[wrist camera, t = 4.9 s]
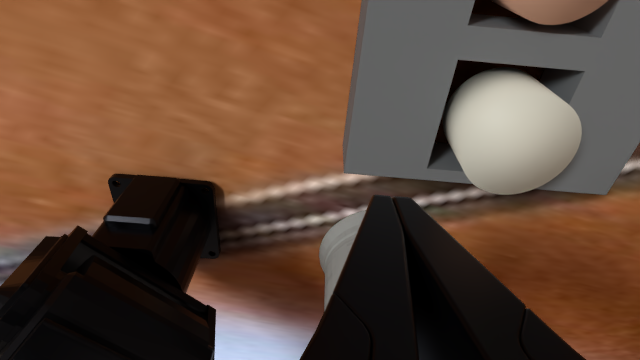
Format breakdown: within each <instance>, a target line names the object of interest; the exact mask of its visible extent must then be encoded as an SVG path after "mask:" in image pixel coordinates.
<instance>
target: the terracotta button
mask: <svg viewBox="0 0 640 360" xmlns="http://www.w3.org/2000/svg"><path fill="white" fill-rule="evenodd" d="M491 1H492V2H494V3H496V4H497V5H499V6H501V7H503V8H505V9H507V10H509V11H511V12H513V13H515V14H517V15H520V16H522V17H524V18H526V19H528V20H530V21H532V22H535V23H538V24H544V25H558V24H564V23H569V22H572V21H575V20H578V19H580V18H582V17H584V16H586V15H588V14H590V13H592V12H593V11H595V10H597V9H598V8H599V7H601V6H602V5H603V4H605V3H606V2H607V1H608V0H491Z"/></svg>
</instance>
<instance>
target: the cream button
mask: <svg viewBox="0 0 640 360" xmlns="http://www.w3.org/2000/svg"><path fill="white" fill-rule="evenodd" d="M443 130H444V134H445V136H446V139H447V140H448V142H449V144H450V146H451V148H452V150H453V152H454V154H455V156H456V158H457V159H458V161H459V163H460V165H461V167H462V169H463V171H464V173H465V174H466V176H467V178H468V179H469V180H470V181H471V182H472V183H473V184H474V185H475V186H476V187H478V188H480V189H481V190H484V191H486V192H489V193H493V194H500V195H510V194H518V193H523V192H527V191H530V190H533V189H535V188H538V187H540V186H542V185H544V184H546V183H547V182H549V181H550V180H552V179H553V178H555V177H556V176H557V175H558V174H560V173H561V172H562V171H563V170H564V169H565V168H566V167H567V166H568V164H569V163H570V162H571V161H572V159H573V157H574V156H575V154H576V152H577V150H578V148H579V145H580V141H581V135H582V127H581V122H580V119H579V117H578V115H577V113H576V112H575V110H574V109H573V108H572V107H571V106H570V105H569V104H567V103H566V102H565V101H564V100H562V99H561V98H560V97H558V96H557V95H556V94H554V93H553V92H552V91H551V90H549V89H548V88H547V87H545V86H544V85H543V84H541V83H540V82H539V81H538V80H536V79H535V78H534V77H532V76H531V75H530V74H528V73H527V72H525V71H523V70H520V69H516V68H511V67H499V68H493V69H488V70H486V71H483V72H480V73H478V74H476V75H474V76H472V77H471V78H469V79H468V80H466V81H465V82H464V83H463V84H462V85H460V86H459V87H458V88H457V90H456V91H455V92H454V93H453V94H452V96H451V97H450V99H449V101H448V103H447V105H446V107H445V110H444V114H443Z"/></svg>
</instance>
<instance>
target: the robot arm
mask: <svg viewBox="0 0 640 360" xmlns="http://www.w3.org/2000/svg"><path fill="white" fill-rule="evenodd" d="M116 181H118V182H120V183H117V182H116ZM108 184H109V188H110V191H111V194H112V198H113V201H114V204H113V205H112V207H111V208H110V209H109V211H108V212H107V213H106V214H105V216H104V218H103V219H104V221H103V223H102V224H101V225H100V227H99V228H98V229H97V231H96V232H95V233H94V234H93V236H91V235H89V234H87V232H88V231H86V230H85V229H83V228H81V227H80V226H77V227H76V228H75V229H74V230H73V231H72V232H71V233H70V234H69V235H66V234H64V235H63V236H61V237H49V236H46V237H45V238H44V239H43V240H42V241H41V243H40V244H39V245H38V246H37V247H36V248H35V249H34V250H33V251H32V252H31V253H30V255H29V256H28V257H27V258H26V259H25V260H24V261H23V262H22V263H21V264H20V266H19V267H18V268H17V269H16V270H15V271H14V272H13V273H12V274H11V275H10V276H9V278H8V279H7V280H6V281H5V282H4V283H3V284H2V285H1V286H0V360H214V351H215V322H216V309H214V308H213V307H211V306H209V305H204V304H203V303H201V302H199V301H198V300H196V299H194V298H193V297H191V296H189V295H188V294H186V292H187V289H188V287H189V284H190V282H191V279H192V277H193V274H194V271H195V269H196V266H197V264H198V261H199V259H200V258H210V259H215V258H217V257H218V256H219V254H220V240H219V229H218V218H217V208H216V197H215V188H214V185H213V184H212V183H211V182H208V181H200V180H188V179H177V178H170V177H158V176H146V175H127V174H114V175H112V176H111V177H110V179H109V180H108ZM203 188H207V189H208V190H209V191H206V190H204V189H203ZM212 251H213V252H212ZM525 308H526V306H525V304H524V303H522V302H521V301H520V300H519V299H518V298H517V297H516V296H515V295H514V294H513V293H512V292H511V291H510V290H509V289H508V288H506V287H505V286H504V285H503V284H502V283H501V282H500V281H499V280H498V279H497V278H496V277H495V276H494V275H493V274H492V273H490V272H489V271H488V270H487V269H486V268H485V267H484V266H483V265H482V264H481V263H480V262H479V261H478V260H477V259H476V258H474V257H473V256H472V255H471V254H470V253H469V252H468V251H467V250H466V249H465V248H464V247H463V246H462V245H461V244H460V243H458V242H457V241H456V240H455V239H454V238H453V237H452V236H451V235H450V234H449V233H448V232H447V231H446V230H445V229H444V228H442V227H441V226H440V225H439V224H438V223H437V222H436V221H435V220H434V219H433V218H432V217H431V216H430V215H429V214H428V213H426V212H425V211H424V210H423V209H422V208H421V207H420V206H419V205H418V204H417V203H416V202H415V201H414V200H412V199H411V198H408V197H392V198H391V197H390V196H383V195H373V196H372V198H371V200H370V203H369V205H368V208H367V210H366V213H365V215H364V217H363V220H362V222H361V225H360V227H359V230H358V232H357V234H356V237H355V239H354V242H353V244H352V247H351V249H350V252H349V254H348V256H347V259H346V261H345V264H344V266H343V269H342V271H341V273H340V276H339V278H338V281H337V283H336V286H335V288H334V290H333V294H332V295H331V297H330V300H329V302H328V304H327V307H326V309H325V312H324V314H323V316H322V318H321V320H320V322H319V325H318V327H317V329H316V331H315V333H314V335H313V337H312V338H311V340H310V342H309V344H308V345H307V347H306V349H305V351H304V353H303V354H302V356H301V358H300V360H586V359H585V358H583V357H582V356H581V355H580V354H579V353H577V352H576V351H575V350H574V349H573V348H572V347H571V346H569V345H568V344H567V343H566V342H565V341H564V340H563V339H562V338H561V337H559V336H558V335H557V334H556V333H555V332H554V331H553V330H552V329H551V328H549V327H548V326H547V325H546V324H545V323H544V322H543V321H542V320H541V319H540V318H539V317H538V316H537V315H535V314H534V313H533V312H532V311H531V310H530V309H528V308H527V309H525Z"/></svg>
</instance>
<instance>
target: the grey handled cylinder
mask: <svg viewBox="0 0 640 360" xmlns="http://www.w3.org/2000/svg"><path fill="white" fill-rule="evenodd" d="M365 213H366V210H365V211H360V212H358V213H355V214H352V215H350V216H348V217H346V218H344V219H342V220H340V221H339V222H338V223H337V224H335V225H334V226H333V227H332V228H331V229H330V230H329V231H328V232H327V233H326V235H325V237H324V238H323V240H322V243H321V246H320V251H319V258H320V264H321V267H322V269H323V272H324V273H325V299H324V312H325V309H326V307H327V304H328V302H329V300H330V297H331V295H332V294H333V290H334V288H335V286H336V283H337V281H338V278H339V276H340V273H341V271H342V269H343V266H344V264H345V261H346V259H347V256H348V254H349V252H350V249H351V247H352V244H353V242H354V239H355V237H356V234H357V232H358V230H359V227H360V225H361V222H362V220H363V217H364V215H365Z"/></svg>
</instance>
